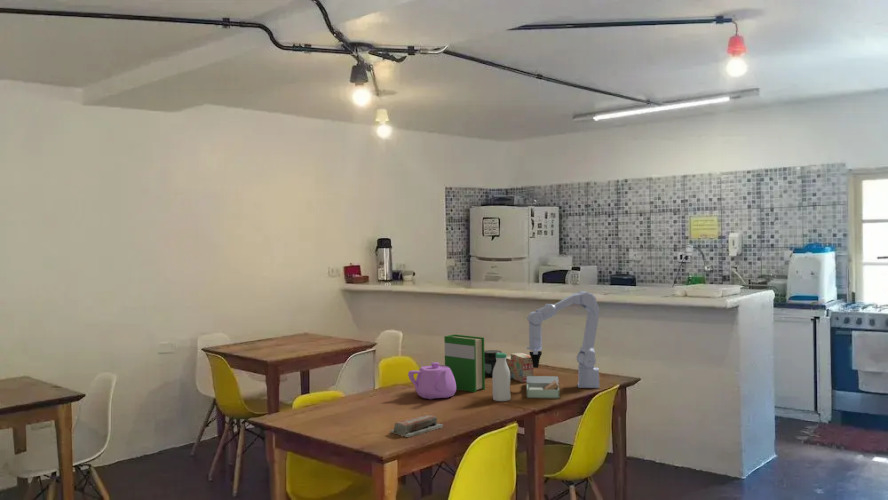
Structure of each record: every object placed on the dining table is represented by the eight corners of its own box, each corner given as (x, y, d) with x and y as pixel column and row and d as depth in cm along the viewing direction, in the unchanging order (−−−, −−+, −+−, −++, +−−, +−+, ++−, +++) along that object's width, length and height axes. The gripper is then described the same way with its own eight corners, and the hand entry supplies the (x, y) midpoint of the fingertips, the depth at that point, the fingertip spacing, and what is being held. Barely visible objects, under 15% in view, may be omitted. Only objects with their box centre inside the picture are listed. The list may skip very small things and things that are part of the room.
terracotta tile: (558, 383, 322) (555, 379, 322) (558, 386, 316) (555, 382, 316) (547, 390, 322) (544, 387, 322) (547, 393, 316) (544, 390, 316)
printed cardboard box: (502, 374, 363) (502, 350, 363) (513, 373, 365) (513, 349, 365) (522, 382, 343) (522, 357, 343) (534, 381, 346) (533, 356, 345)
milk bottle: (509, 402, 305) (508, 355, 305) (491, 401, 307) (490, 354, 306) (511, 397, 313) (510, 352, 312) (494, 397, 314) (493, 351, 314)
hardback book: (484, 389, 330) (484, 337, 329) (475, 392, 324) (474, 339, 324) (455, 384, 341) (454, 334, 341) (445, 387, 336) (444, 336, 335)
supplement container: (506, 374, 364) (506, 350, 363) (496, 378, 355) (496, 353, 354) (488, 372, 369) (488, 349, 369) (478, 376, 360) (477, 352, 360)
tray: (558, 392, 322) (558, 384, 322) (559, 398, 310) (559, 390, 310) (527, 391, 324) (527, 383, 324) (526, 397, 312) (526, 389, 312)
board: (557, 384, 337) (557, 376, 337) (559, 392, 322) (558, 383, 322) (526, 384, 339) (526, 376, 338) (526, 391, 324) (526, 382, 324)
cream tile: (542, 390, 314) (542, 395, 314) (542, 387, 320) (542, 392, 320) (529, 390, 314) (529, 395, 314) (529, 387, 320) (529, 392, 320)
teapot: (404, 394, 322) (403, 361, 322) (448, 390, 328) (448, 358, 328) (417, 406, 300) (416, 370, 300) (464, 401, 307) (464, 366, 306)
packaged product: (408, 425, 254) (389, 421, 261) (408, 439, 254) (389, 434, 261) (443, 415, 267) (425, 411, 274) (443, 428, 267) (425, 424, 274)
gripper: (526, 335, 337) (527, 364, 337) (526, 340, 322) (526, 370, 322) (541, 335, 336) (542, 364, 336) (542, 340, 321) (542, 370, 322)
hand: (535, 367), depth 329 cm, fingers closed
